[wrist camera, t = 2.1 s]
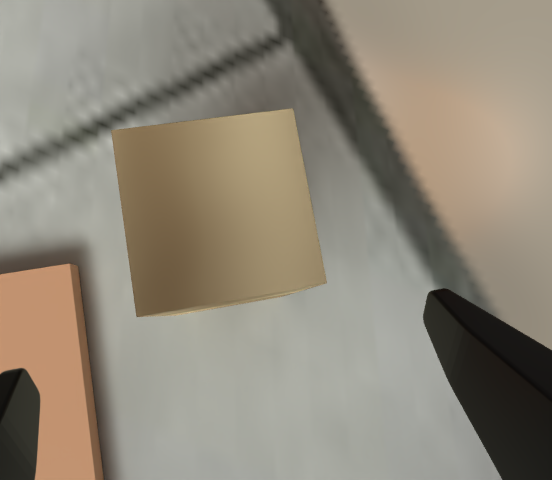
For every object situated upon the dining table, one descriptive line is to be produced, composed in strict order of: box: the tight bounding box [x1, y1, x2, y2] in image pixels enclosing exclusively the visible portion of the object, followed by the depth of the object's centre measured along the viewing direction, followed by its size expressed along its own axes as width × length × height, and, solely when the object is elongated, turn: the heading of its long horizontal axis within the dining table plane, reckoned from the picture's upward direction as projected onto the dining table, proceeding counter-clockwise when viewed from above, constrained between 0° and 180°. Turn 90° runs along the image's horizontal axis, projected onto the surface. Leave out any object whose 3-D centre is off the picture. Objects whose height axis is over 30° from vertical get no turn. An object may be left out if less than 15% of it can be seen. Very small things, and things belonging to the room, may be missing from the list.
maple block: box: [111, 108, 327, 317], centre depth 17 cm, size 5×5×10 cm
